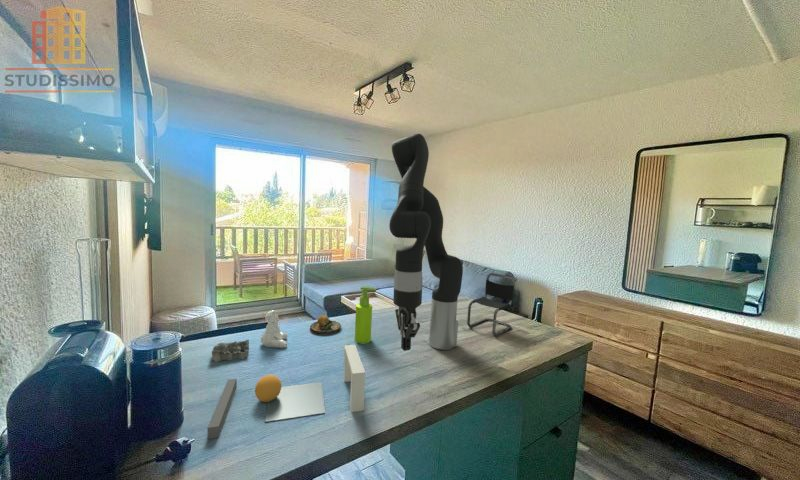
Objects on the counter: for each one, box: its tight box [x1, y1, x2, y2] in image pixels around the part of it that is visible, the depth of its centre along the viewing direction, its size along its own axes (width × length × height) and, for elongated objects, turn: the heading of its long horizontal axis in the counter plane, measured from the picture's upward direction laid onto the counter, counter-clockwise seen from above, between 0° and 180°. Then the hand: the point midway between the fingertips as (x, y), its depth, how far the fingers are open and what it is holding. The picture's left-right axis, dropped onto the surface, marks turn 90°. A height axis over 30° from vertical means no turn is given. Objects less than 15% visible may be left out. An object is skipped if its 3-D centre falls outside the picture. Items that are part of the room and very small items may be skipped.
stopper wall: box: [207, 378, 238, 440], centre depth 71 cm, size 2×18×2 cm, turn 18°
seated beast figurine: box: [260, 309, 288, 349], centre depth 105 cm, size 10×9×12 cm
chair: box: [466, 272, 518, 337], centre depth 130 cm, size 13×17×22 cm
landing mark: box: [264, 381, 326, 423], centre depth 76 cm, size 13×13×1 cm
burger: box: [309, 314, 342, 336], centre depth 120 cm, size 12×12×8 cm
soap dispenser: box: [354, 286, 377, 345], centre depth 111 cm, size 6×7×20 cm
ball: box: [254, 374, 282, 403], centre depth 76 cm, size 6×6×6 cm
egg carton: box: [211, 338, 250, 363], centre depth 96 cm, size 10×7×4 cm
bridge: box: [342, 344, 366, 413], centre depth 80 cm, size 3×15×10 cm, turn 18°
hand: (405, 349), depth 83 cm, fingers closed
